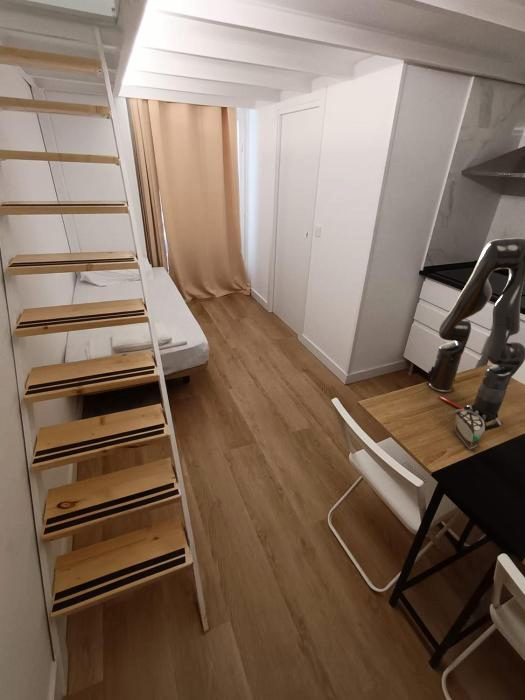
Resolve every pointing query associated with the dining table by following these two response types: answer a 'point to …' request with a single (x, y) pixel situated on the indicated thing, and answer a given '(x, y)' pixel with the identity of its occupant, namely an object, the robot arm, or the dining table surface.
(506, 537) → the dining table surface
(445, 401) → the spoon
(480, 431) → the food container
